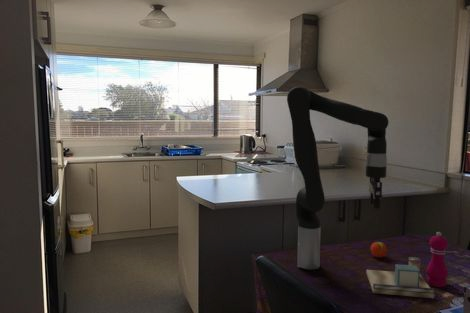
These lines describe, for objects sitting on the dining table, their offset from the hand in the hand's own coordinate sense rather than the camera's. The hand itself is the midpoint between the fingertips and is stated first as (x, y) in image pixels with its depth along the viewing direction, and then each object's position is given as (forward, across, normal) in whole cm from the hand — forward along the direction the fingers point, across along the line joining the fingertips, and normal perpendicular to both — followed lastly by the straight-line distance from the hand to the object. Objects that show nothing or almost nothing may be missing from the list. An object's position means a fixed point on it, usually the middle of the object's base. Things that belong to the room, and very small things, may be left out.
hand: (374, 205), depth 148 cm
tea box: (+26, -12, -10) cm, 31 cm away
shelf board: (+28, -8, -8) cm, 30 cm away
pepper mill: (+28, -3, -23) cm, 36 cm away
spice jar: (+26, -2, -15) cm, 30 cm away
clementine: (+28, +22, -6) cm, 36 cm away
